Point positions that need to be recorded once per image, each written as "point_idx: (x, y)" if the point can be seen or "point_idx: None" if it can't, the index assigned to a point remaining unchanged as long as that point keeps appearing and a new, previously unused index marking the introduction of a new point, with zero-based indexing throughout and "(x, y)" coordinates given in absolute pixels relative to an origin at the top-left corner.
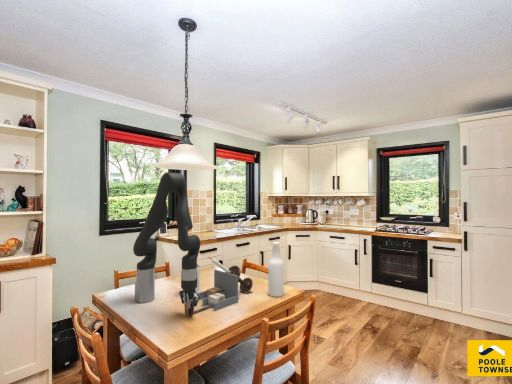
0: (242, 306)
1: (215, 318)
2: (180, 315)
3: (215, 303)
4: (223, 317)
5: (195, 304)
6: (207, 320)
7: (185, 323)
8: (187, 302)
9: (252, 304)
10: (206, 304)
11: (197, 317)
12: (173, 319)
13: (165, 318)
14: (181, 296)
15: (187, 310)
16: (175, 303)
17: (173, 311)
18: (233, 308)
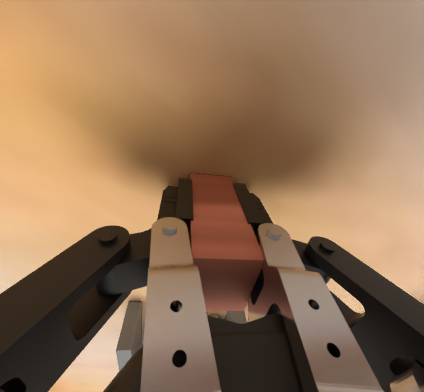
0: (81, 369)
1: (19, 257)
2: (269, 152)
3: (120, 354)
4: (3, 286)
5: (97, 290)
6: (18, 212)
7: (84, 49)
8: (246, 271)
9: (71, 387)
10: (227, 316)
11: (126, 203)
12: (271, 45)
13: (370, 6)
14: (415, 323)
15: (212, 200)
16: (410, 248)
17: (367, 169)
18: (89, 349)
